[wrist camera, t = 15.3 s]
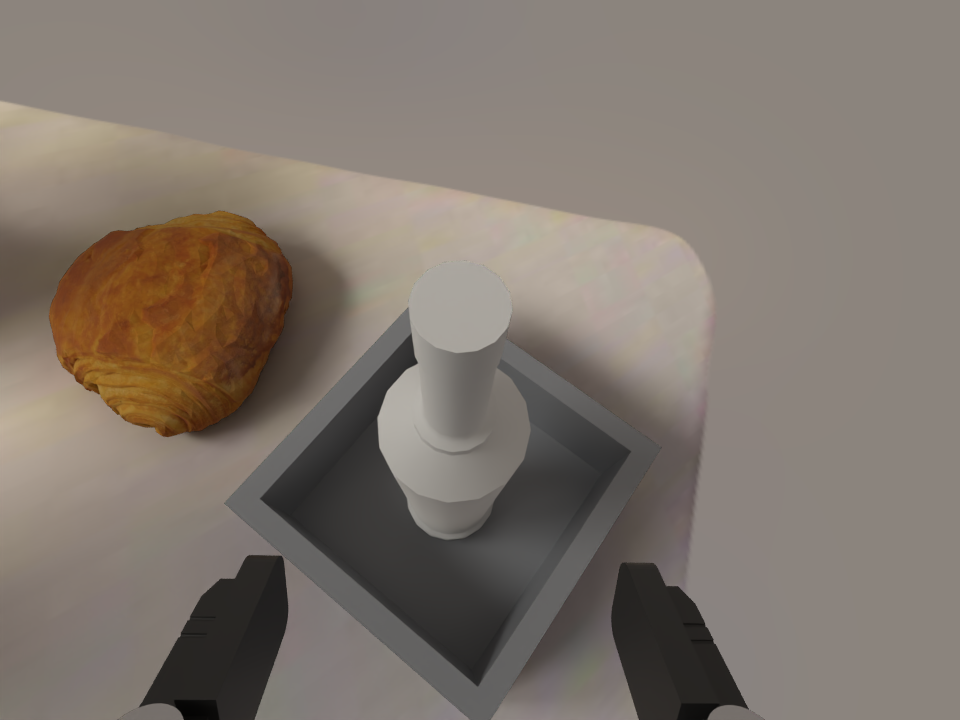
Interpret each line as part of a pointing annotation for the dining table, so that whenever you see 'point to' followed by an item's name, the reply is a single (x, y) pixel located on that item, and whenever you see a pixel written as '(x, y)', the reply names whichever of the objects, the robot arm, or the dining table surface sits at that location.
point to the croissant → (173, 318)
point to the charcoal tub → (436, 562)
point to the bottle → (455, 402)
